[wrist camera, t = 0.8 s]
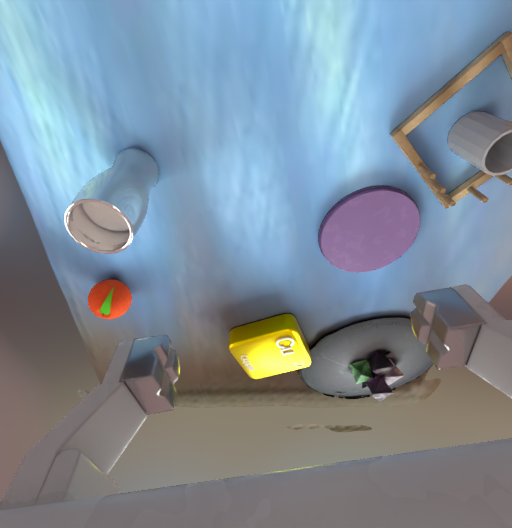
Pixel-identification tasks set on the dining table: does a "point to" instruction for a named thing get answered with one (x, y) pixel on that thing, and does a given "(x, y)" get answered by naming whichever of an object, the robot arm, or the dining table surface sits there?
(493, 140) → the steel cup
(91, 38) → the dining table surface
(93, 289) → the clementine
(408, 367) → the grey tray with blocks
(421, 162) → the drying rack
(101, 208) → the beer glass
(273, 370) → the element tile
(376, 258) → the purple disc candle holder
